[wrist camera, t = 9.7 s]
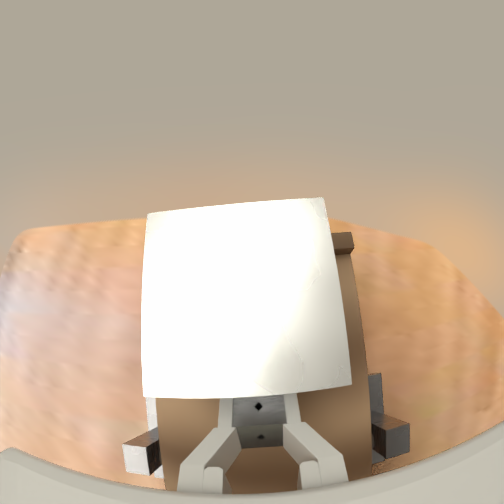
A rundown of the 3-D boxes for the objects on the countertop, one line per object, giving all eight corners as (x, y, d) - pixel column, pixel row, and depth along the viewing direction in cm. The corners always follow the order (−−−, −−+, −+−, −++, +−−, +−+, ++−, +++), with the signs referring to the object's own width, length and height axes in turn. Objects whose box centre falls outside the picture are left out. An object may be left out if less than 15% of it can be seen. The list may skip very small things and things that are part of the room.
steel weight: (299, 272, 17) (323, 197, 10) (310, 376, 15) (352, 384, 7) (196, 280, 17) (147, 213, 10) (200, 383, 15) (143, 396, 7)
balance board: (158, 268, 20) (131, 240, 16) (346, 252, 20) (367, 220, 15) (190, 579, 10) (175, 611, 6) (362, 567, 10) (379, 597, 6)
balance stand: (149, 390, 22) (105, 397, 15) (376, 373, 21) (419, 374, 14) (158, 473, 19) (121, 505, 12) (380, 457, 19) (419, 485, 11)
